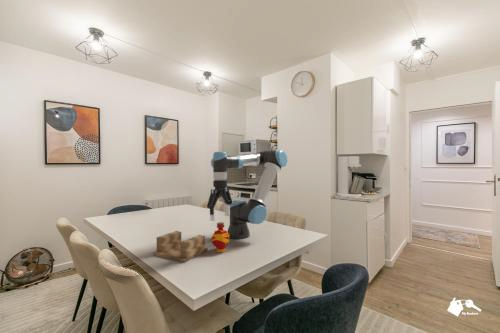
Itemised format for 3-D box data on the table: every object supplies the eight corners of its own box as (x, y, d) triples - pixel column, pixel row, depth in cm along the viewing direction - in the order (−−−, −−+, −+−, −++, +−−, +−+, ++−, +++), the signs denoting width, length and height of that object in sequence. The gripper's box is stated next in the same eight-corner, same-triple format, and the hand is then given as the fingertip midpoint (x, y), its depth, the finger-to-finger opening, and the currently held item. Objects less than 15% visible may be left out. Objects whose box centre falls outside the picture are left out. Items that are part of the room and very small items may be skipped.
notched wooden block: (178, 244, 141) (178, 230, 141) (207, 250, 130) (207, 235, 130) (153, 254, 125) (153, 238, 125) (183, 262, 114) (183, 244, 114)
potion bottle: (207, 252, 128) (207, 224, 128) (217, 246, 137) (217, 220, 137) (225, 254, 124) (224, 226, 124) (233, 248, 134) (233, 221, 134)
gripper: (227, 178, 143) (227, 213, 143) (199, 180, 121) (200, 222, 121) (237, 178, 140) (238, 214, 140) (211, 181, 118) (211, 223, 118)
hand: (220, 218), depth 131 cm, fingers open, 13 cm apart
